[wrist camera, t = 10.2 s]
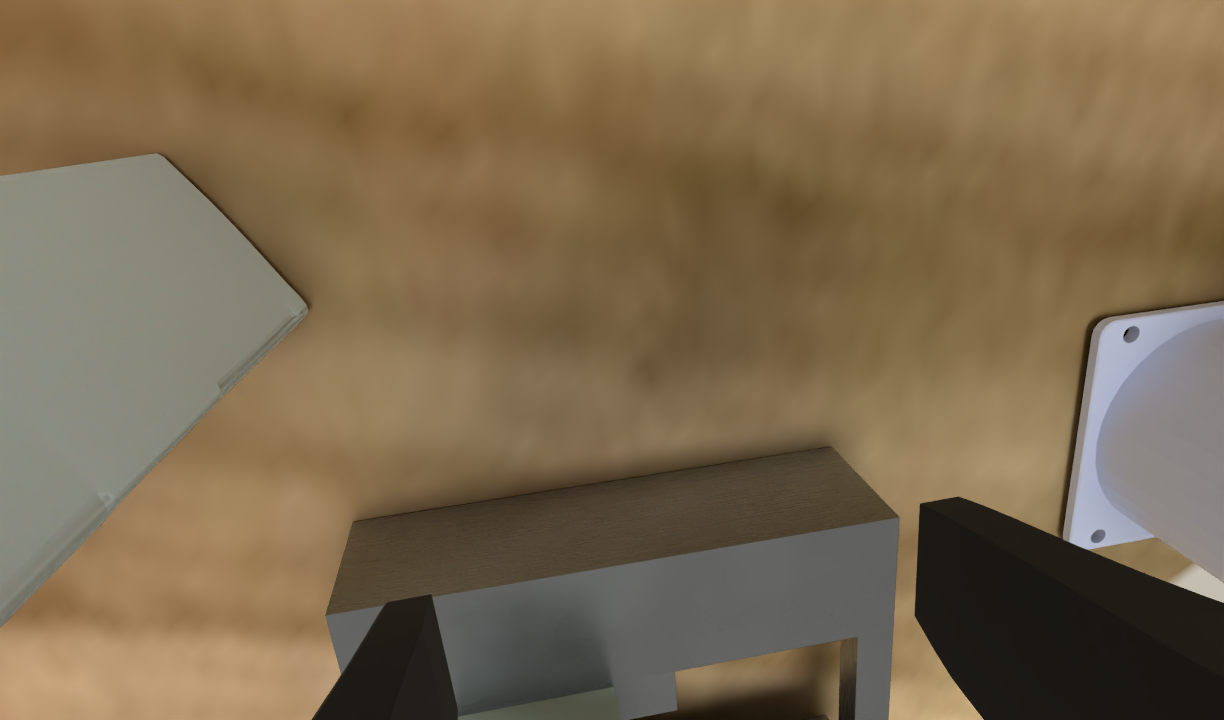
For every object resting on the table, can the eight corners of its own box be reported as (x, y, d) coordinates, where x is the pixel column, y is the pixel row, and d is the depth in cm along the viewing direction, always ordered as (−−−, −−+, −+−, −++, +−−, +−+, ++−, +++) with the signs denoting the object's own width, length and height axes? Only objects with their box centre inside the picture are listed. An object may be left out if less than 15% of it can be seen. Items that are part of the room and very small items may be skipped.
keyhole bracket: (831, 446, 23) (899, 517, 19) (826, 747, 27) (881, 853, 23) (352, 521, 21) (325, 615, 17) (427, 829, 25) (418, 958, 22)
